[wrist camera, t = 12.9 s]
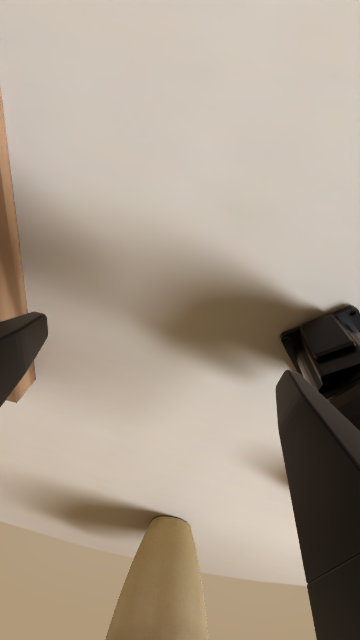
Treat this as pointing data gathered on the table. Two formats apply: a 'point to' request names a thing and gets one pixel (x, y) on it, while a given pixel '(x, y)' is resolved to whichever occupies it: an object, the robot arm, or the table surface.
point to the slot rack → (10, 257)
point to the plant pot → (162, 588)
